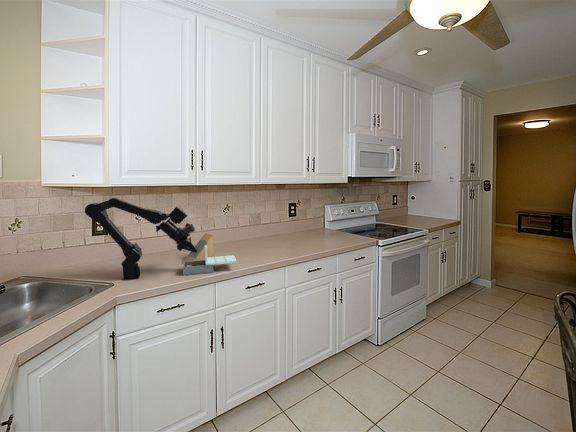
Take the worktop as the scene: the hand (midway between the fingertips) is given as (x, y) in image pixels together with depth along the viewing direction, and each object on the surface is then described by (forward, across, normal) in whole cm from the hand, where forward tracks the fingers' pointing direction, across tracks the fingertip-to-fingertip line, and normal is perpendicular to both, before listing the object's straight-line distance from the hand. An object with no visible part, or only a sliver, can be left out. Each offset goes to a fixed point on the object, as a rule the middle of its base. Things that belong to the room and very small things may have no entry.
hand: (196, 251), depth 146 cm
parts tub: (+7, 0, +7) cm, 10 cm away
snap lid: (+12, 0, -4) cm, 13 cm away
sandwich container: (+8, +17, +7) cm, 20 cm away
